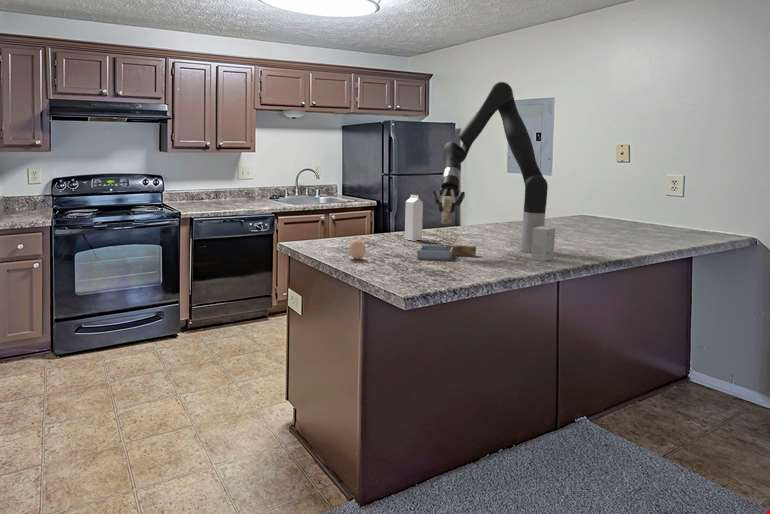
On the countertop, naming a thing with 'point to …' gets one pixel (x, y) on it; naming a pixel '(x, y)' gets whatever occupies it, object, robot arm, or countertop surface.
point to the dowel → (446, 210)
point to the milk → (413, 218)
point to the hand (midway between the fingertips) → (446, 211)
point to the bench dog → (462, 250)
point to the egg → (357, 249)
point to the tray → (434, 252)
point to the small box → (543, 243)
